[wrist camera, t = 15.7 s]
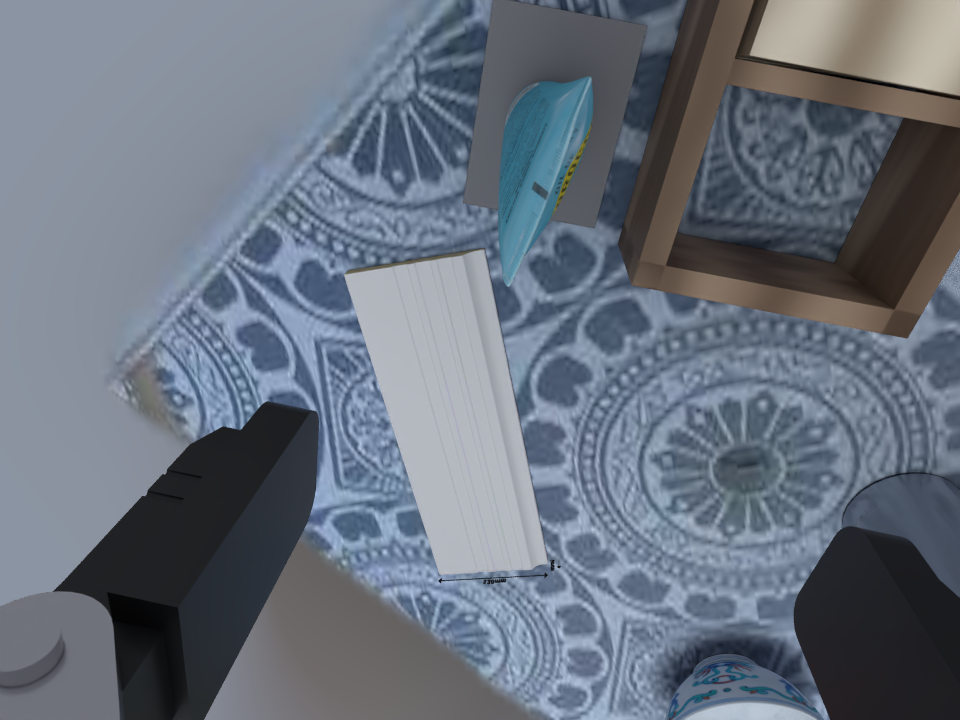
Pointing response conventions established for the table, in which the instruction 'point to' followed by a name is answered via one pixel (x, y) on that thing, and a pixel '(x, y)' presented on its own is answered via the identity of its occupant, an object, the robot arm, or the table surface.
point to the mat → (559, 58)
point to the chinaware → (738, 693)
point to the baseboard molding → (452, 408)
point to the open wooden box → (778, 276)
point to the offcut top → (862, 39)
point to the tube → (539, 161)
